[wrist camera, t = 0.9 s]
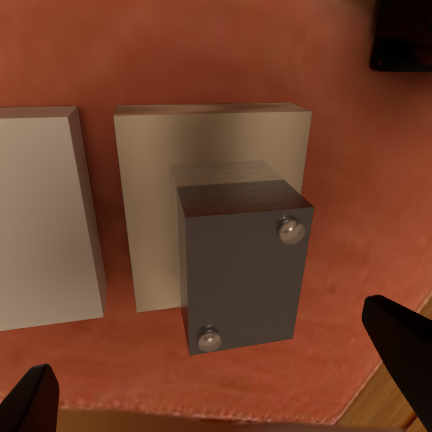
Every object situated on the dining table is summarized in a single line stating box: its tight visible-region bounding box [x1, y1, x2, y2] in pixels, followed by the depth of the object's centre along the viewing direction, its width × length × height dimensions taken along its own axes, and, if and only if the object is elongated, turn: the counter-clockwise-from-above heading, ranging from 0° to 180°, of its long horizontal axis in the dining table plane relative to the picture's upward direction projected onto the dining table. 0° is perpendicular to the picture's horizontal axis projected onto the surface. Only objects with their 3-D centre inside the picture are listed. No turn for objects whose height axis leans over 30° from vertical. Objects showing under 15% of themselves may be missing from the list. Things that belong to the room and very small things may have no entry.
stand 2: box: [113, 102, 312, 313], centre depth 21 cm, size 10×12×3 cm
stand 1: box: [0, 106, 107, 331], centre depth 19 cm, size 8×12×3 cm, turn 0°
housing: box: [170, 160, 314, 355], centre depth 17 cm, size 5×7×6 cm
